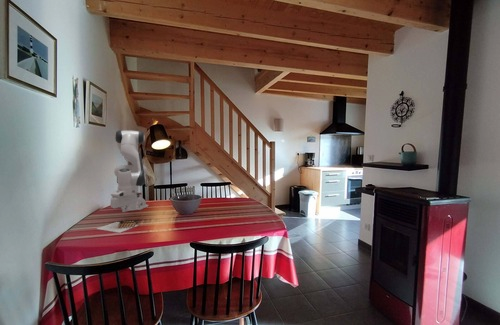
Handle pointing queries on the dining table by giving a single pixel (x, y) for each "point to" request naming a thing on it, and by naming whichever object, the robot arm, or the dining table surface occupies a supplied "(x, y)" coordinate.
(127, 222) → the ammunition clip
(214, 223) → the dining table surface
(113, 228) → the mat
